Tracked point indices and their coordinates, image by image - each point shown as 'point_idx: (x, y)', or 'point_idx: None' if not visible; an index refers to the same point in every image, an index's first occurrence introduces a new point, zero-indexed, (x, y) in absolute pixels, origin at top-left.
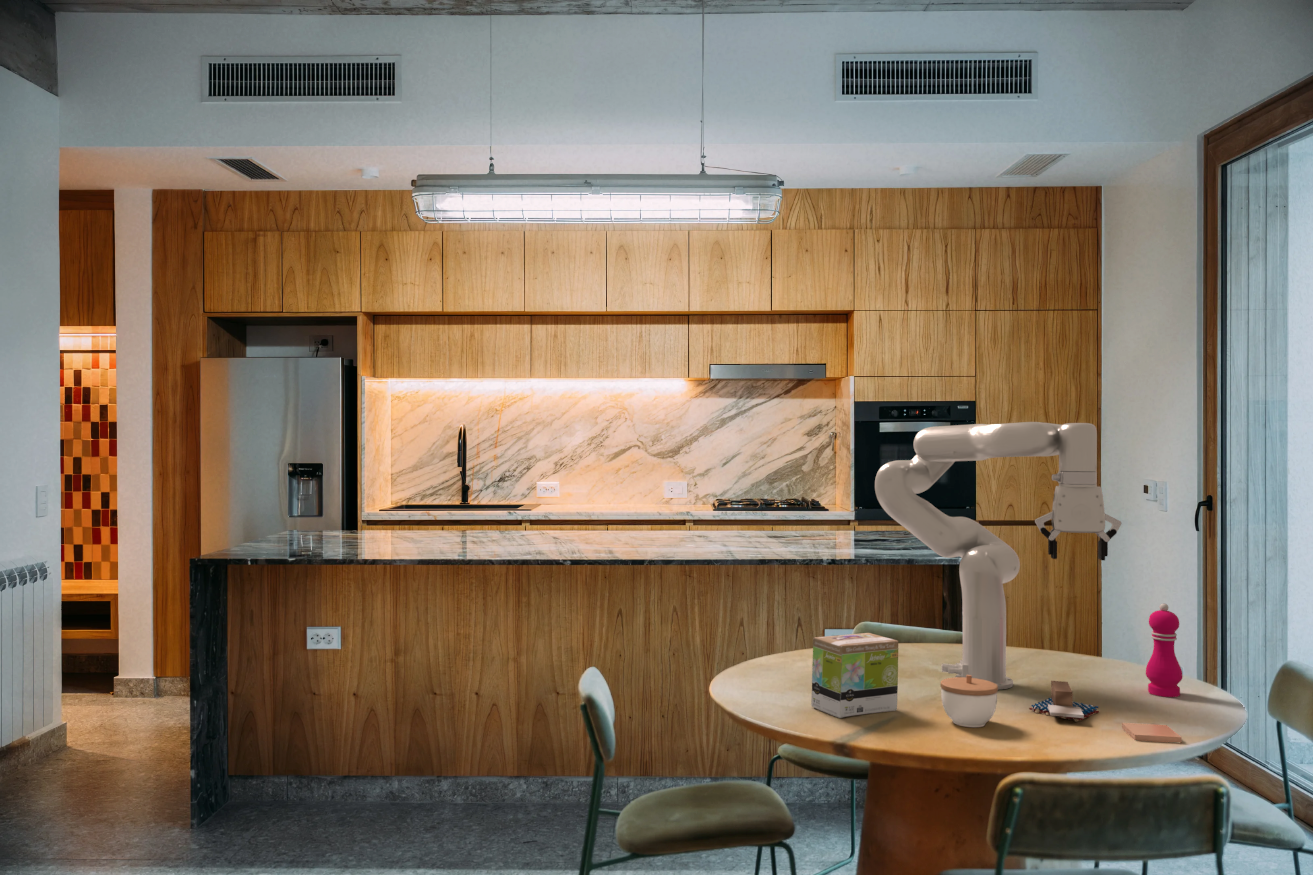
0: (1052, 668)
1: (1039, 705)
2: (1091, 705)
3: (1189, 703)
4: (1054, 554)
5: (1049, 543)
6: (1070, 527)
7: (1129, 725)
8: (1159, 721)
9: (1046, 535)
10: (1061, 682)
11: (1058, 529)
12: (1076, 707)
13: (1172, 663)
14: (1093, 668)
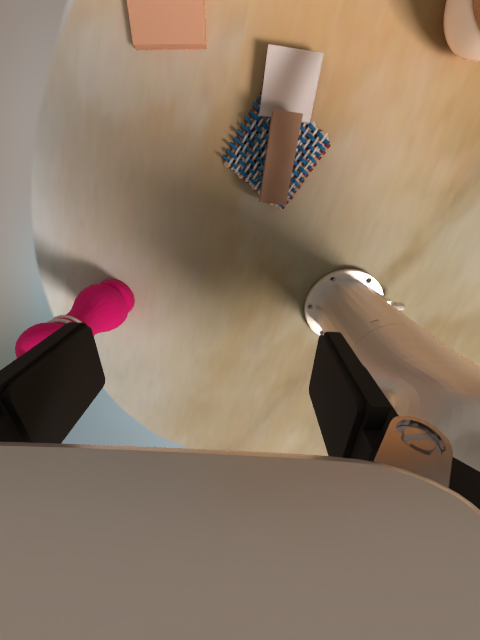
0: (229, 393)
1: (314, 149)
2: (231, 161)
3: (88, 250)
4: (343, 341)
5: (393, 412)
6: (284, 519)
7: (196, 20)
8: (140, 120)
9: (466, 469)
10: (271, 194)
11: (452, 492)
12: (265, 111)
13: (80, 298)
14: (182, 400)
